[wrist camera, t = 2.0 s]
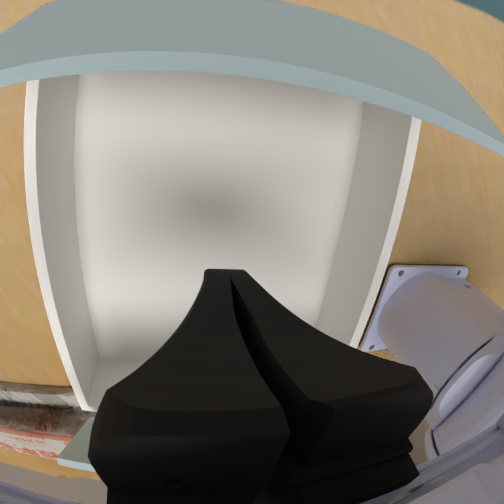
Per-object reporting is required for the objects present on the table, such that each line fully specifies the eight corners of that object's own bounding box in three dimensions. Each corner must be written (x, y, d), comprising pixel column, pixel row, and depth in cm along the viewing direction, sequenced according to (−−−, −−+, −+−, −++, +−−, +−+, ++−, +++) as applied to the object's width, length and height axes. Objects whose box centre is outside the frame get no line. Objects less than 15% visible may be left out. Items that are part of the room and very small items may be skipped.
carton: (373, 66, 14) (428, 59, 10) (308, 358, 23) (329, 406, 19) (79, 34, 11) (39, 11, 7) (95, 357, 20) (81, 410, 15)
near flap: (424, 59, 9) (428, 52, 9) (506, 158, 6) (514, 150, 6) (47, 11, 6) (46, 2, 6) (-55, 103, 3) (-60, 89, 3)
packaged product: (81, 427, 17) (126, 478, 22) (91, 381, 21) (128, 440, 26) (-55, 403, 15) (-5, 457, 19) (-40, 372, 19) (4, 427, 23)
